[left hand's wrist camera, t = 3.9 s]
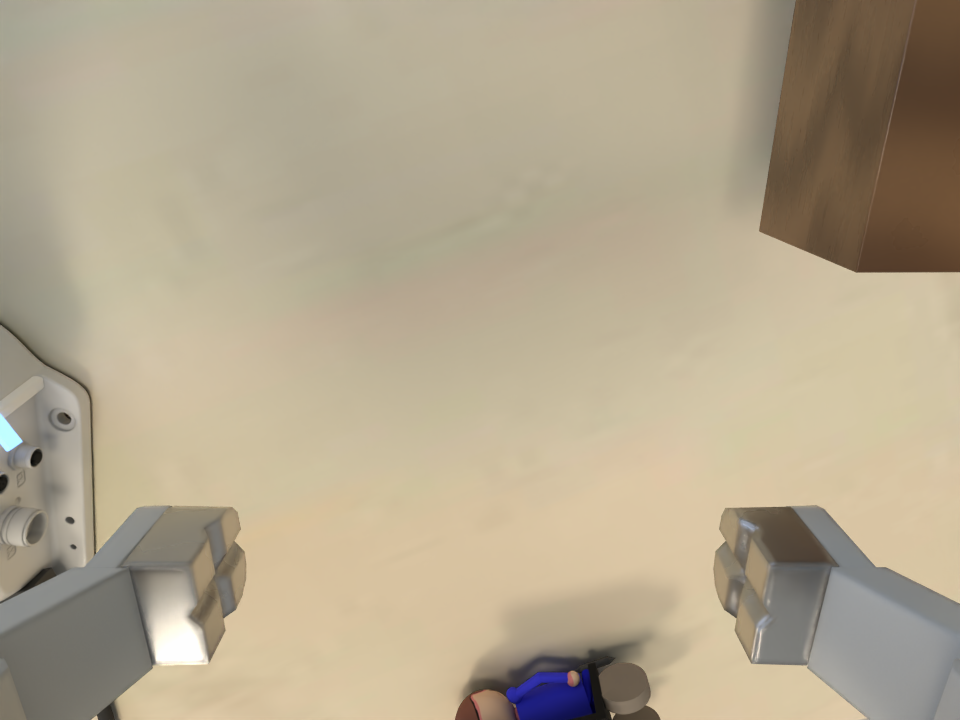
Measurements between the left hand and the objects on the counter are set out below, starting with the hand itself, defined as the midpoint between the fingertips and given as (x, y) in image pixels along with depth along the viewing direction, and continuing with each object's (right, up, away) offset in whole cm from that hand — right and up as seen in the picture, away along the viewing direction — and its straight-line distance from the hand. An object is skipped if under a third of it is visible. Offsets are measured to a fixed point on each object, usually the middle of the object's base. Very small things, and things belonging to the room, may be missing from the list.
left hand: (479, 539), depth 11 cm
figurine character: (+5, -23, +39) cm, 46 cm away
